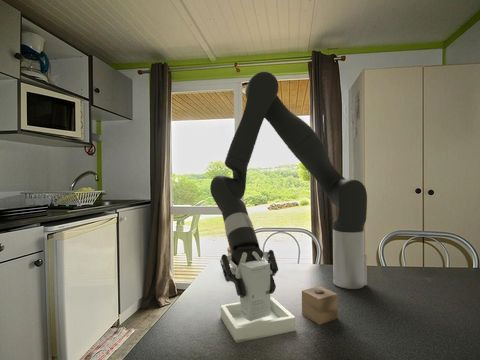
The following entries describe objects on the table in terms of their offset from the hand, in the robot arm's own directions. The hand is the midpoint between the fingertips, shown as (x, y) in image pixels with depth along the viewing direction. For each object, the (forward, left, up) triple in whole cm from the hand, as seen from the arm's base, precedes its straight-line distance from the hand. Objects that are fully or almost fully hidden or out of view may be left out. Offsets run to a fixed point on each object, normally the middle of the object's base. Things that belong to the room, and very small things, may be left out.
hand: (258, 294), depth 68 cm
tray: (0, -1, -7) cm, 8 cm away
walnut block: (-16, +1, -8) cm, 18 cm away
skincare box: (0, -2, -6) cm, 6 cm away
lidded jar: (-11, -42, -8) cm, 45 cm away
